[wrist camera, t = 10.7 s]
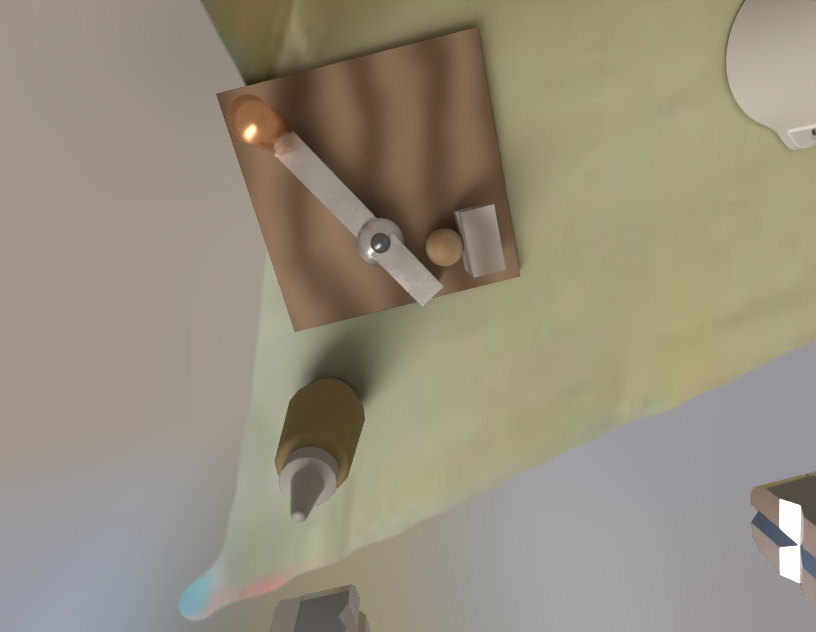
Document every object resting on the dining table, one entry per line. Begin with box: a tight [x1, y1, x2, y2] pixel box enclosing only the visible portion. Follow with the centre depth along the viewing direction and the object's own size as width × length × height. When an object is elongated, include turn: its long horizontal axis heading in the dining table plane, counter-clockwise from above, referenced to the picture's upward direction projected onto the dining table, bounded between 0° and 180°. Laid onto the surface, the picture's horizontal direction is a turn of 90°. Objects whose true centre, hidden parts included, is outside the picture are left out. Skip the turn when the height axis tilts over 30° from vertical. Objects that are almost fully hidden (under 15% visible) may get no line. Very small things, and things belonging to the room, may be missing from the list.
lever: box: [227, 94, 444, 307], centre depth 37 cm, size 4×22×9 cm, turn 44°
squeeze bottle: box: [275, 377, 365, 522], centre depth 39 cm, size 8×8×18 cm
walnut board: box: [217, 27, 520, 332], centre depth 39 cm, size 24×23×6 cm
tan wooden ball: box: [426, 228, 463, 266], centre depth 41 cm, size 4×4×4 cm
